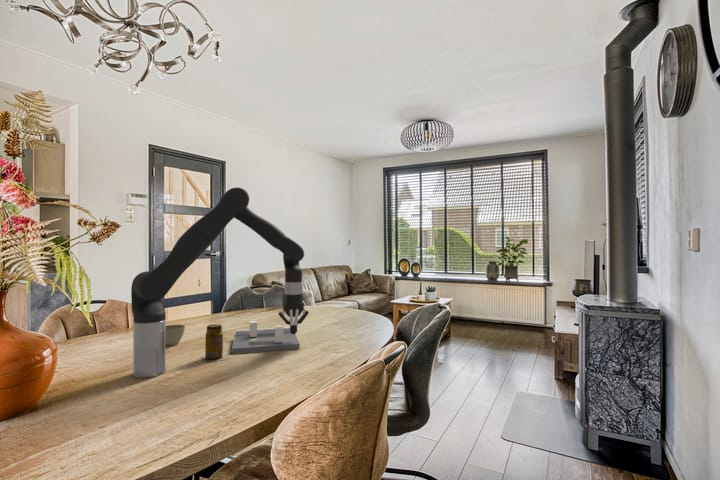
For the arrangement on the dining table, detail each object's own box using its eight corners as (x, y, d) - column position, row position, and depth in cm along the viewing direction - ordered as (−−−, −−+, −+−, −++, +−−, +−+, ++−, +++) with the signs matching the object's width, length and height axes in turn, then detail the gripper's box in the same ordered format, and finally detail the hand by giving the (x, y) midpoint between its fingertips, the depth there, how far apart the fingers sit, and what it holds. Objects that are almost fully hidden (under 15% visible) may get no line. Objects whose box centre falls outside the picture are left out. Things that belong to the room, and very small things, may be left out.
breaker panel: (299, 348, 151) (299, 338, 151) (231, 353, 144) (232, 343, 144) (293, 335, 173) (293, 326, 173) (234, 339, 165) (234, 330, 165)
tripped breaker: (282, 342, 153) (282, 327, 153) (275, 342, 152) (275, 327, 152) (282, 339, 156) (282, 325, 156) (274, 340, 156) (274, 325, 156)
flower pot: (177, 347, 152) (177, 329, 152) (153, 347, 152) (153, 329, 153) (189, 340, 162) (189, 324, 162) (166, 340, 162) (166, 324, 162)
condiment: (220, 353, 144) (220, 322, 144) (228, 359, 138) (228, 326, 138) (200, 357, 140) (200, 325, 140) (207, 363, 133) (208, 329, 133)
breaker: (256, 336, 161) (257, 322, 161) (249, 337, 160) (249, 323, 160) (256, 334, 165) (256, 320, 165) (249, 334, 164) (249, 321, 164)
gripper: (278, 294, 150) (278, 337, 150) (310, 293, 154) (310, 335, 154) (276, 291, 158) (276, 332, 158) (308, 290, 161) (308, 330, 161)
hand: (293, 333), depth 156 cm, fingers closed
